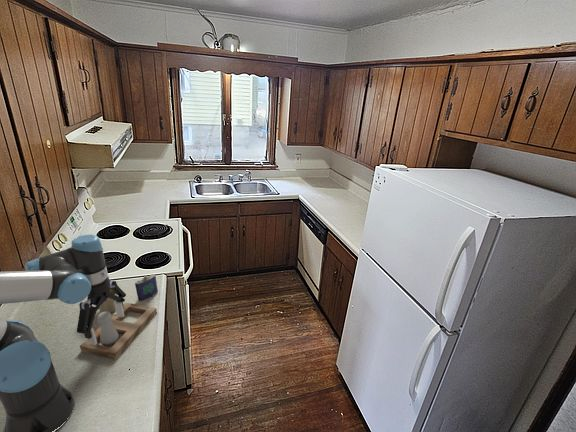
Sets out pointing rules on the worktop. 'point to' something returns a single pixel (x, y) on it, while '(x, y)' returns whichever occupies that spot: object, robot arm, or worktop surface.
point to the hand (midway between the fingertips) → (107, 329)
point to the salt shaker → (107, 329)
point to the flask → (146, 287)
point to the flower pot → (108, 304)
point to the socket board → (121, 331)
